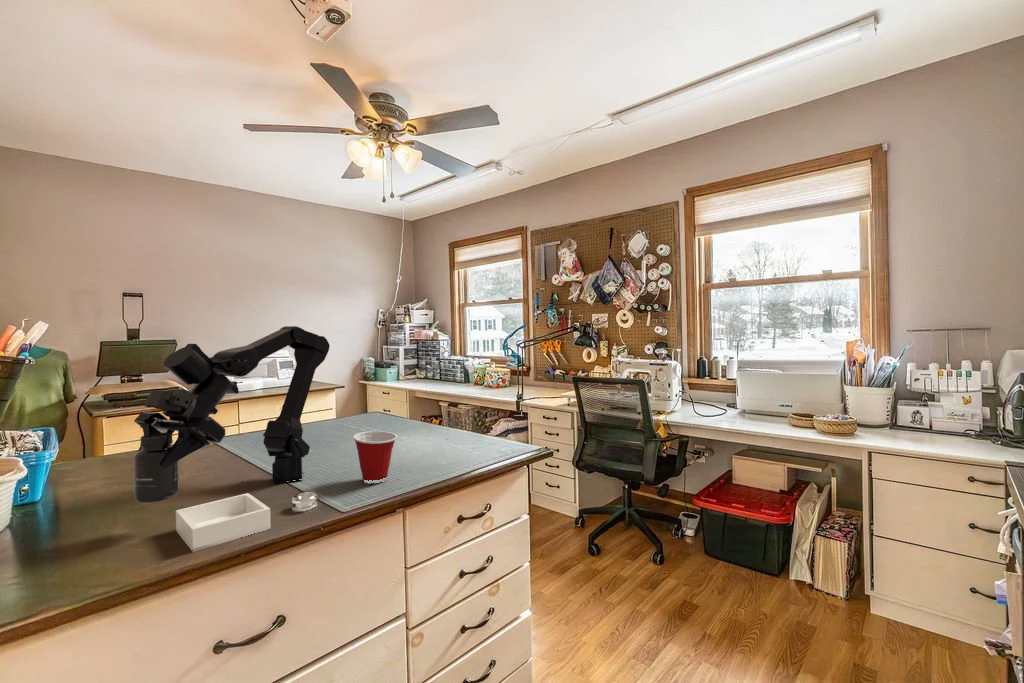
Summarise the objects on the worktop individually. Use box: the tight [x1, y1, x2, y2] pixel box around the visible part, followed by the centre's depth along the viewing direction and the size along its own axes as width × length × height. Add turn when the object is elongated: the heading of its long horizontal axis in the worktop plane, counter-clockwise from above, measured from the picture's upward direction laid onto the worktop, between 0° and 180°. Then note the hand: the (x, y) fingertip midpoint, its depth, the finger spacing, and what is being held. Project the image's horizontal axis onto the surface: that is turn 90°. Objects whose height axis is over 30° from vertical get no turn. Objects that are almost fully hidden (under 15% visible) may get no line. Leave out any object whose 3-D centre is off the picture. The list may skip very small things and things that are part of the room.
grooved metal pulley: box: [291, 491, 318, 511], centre depth 98 cm, size 5×3×5 cm
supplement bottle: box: [133, 433, 180, 504], centre depth 86 cm, size 7×7×12 cm
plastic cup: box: [353, 430, 398, 481], centre depth 116 cm, size 11×11×12 cm
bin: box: [175, 493, 272, 553], centre depth 87 cm, size 13×13×4 cm
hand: (149, 465), depth 85 cm, fingers closed on supplement bottle, 7 cm apart
